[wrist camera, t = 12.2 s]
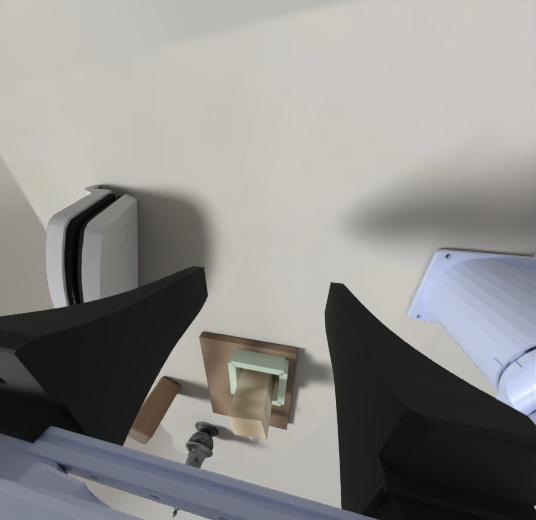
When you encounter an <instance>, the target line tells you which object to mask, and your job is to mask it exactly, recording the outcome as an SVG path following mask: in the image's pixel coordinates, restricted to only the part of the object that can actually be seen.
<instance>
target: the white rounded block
mask: <svg viewBox="0 0 536 520" xmlns="http://www.w3.org/2000/svg"><path fill="white" fill-rule="evenodd" d="M85 193H86V196H85V197H84V198H82V199H80V200H79V201H77V202H75V203H74V204H72V205H70V206H68V207H67V208H65V209H63V210H62V211H60V212H58V213H56V214H55V215H53V216H52V218H51V219H50V220H49V222H48V225H47V238H46V268H47V277H48V284H49V290H50V294H51V298H52V301H53V305H54V307H55V308H60V307H66V306H71V305H76V304H81V303H85V302H89V301H93V300H98V299H102V298H106V297H110V296H113V295H117V294H120V293H123V292H127V291H130V290H133V289H136V288H138V217H137V199H136V198H134V197H132V196H130V195H128V194H125V195H123V196H119V197H118V198H116V199H115V195H114V194H112V192H111V190H105V189H100V186H99V185H93V186H90V187H87V188H85Z"/></svg>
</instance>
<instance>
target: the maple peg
mask: <svg viewBox="0 0 536 520" xmlns="http://www.w3.org/2000/svg"><path fill="white" fill-rule="evenodd" d="M274 386H275V377H274V374H271V373H265V372H260V371H255V370H250V369H245V368H243V369H242V372H241V375H240V378H239V381H238V384H237V387H236V391H235V394H234V397H233V400H232V403H231V406H230V409H229V413H228V416H227V417H228V419H229V422H230V424H231V426H232V429H233V431H234V434H235V435H239V436H246V437H252V438H258V439H264V440H267V434H268V427H269V420H270V413H271V407H272V400H273V393H274Z"/></svg>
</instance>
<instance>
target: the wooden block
mask: <svg viewBox="0 0 536 520" xmlns="http://www.w3.org/2000/svg"><path fill="white" fill-rule="evenodd" d="M179 389H180V385H178V384H176V383H175V382H173V381H171V380H169V379H167V378H166V377H162V378H161V379H160V381H159V382H158V383H157V385H156V386H155V388H154V389H153V391H152V392H151V394H150V395H149V396H148V398H147V399H146V401H145V402H144V404H143V405H142V407H141V408H140V410H139V412H138V414H137V416H136V419H135V421H134V423H133V425H132V427H131V429H130V431H129V433H128V436H129V437H130V438H132V439H135V440H136V441H138V442H140V443H143V444H146V443H147V442H148V441H149V440H150V439H151V437H152V436H153V435H154V433H155V431H156V429H157V427H158V426H159V424H160V422H161V421H162V419H163V417H164V415H165V414H166V412H167V410H168V408H169V407H170V405H171V403H172V402H173V400H174V398H175V396H176V395H177V393H178V391H179Z"/></svg>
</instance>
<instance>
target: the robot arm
mask: <svg viewBox="0 0 536 520" xmlns="http://www.w3.org/2000/svg"><path fill="white" fill-rule="evenodd" d="M447 254H449V256H448V257H445V256H446V255H447ZM207 297H208V293H207V285H206V278H205V271H204V267H196V266H194V267H190V268H188V269H185V270H182V271H180V272H177V273H175V274H172V275H170V276H167V277H165V278H162V279H160V280H157V281H155V282H152V283H149V284H147V285H144V286H141V287H139V288H136V289H133V290H130V291H127V292H123V293H120V294H117V295H113V296H110V297H106V298H102V299H98V300H93V301H89V302H85V303H81V304H76V305H71V306H66V307H60V308H55V309H50V310H43V311H36V312H29V313H23V314H15V315H8V316H1V317H0V520H142V519H139V518H137V517H134V516H132V515H129V514H126V513H123V512H120V511H117V510H114V509H112V508H111V507H109V506H108V505H107V504H105V503H104V502H102V501H101V500H99V499H98V498H97V497H96V496H95V495H94V494H93V493H92V492H90V491H89V489H88V488H87V486H86V485H85V483H83V482H81V481H79V480H77V479H75V478H73V477H71V476H69V475H67V473H70V474H73V475H76V476H79V477H82V478H85V479H89V480H91V481H95V482H98V483H101V484H104V485H107V486H110V487H113V488H116V489H119V490H122V491H125V492H129V493H131V494H135V495H138V496H141V497H144V498H147V499H150V500H153V501H156V502H159V503H162V504H165V505H168V506H172V507H174V508H177V509H180V510H183V511H186V512H190V513H193V514H196V515H199V516H202V517H205V518H208V519H211V520H536V509H535V508H534V506H536V257H530V256H518V255H506V254H494V253H482V252H470V251H459V250H447V249H440V250H437V251H436V252H435V253H434V255H433V257H432V260H431V262H430V264H429V266H428V268H427V271H426V273H425V275H424V277H423V279H422V282H421V284H420V286H419V288H418V290H417V293H416V295H415V297H414V299H413V301H412V304H411V306H410V308H409V310H408V313H407V315H408V317H409V318H411V319H417V320H424V321H431V322H438V323H439V324H440V325H441V326H442V327H443V328H444V330H445V331H446V332H447V333H448V334H449V335H450V337H451V338H452V339H453V340H454V341H455V342H456V343H457V345H458V346H459V347H460V348H461V349H462V351H463V352H464V353H465V354H466V355H467V356H468V358H469V359H470V360H471V361H472V362H473V363H474V365H475V366H476V367H477V368H478V369H479V370H480V372H481V373H482V374H483V375H484V376H485V377H486V379H487V380H488V381H489V382H490V383H491V385H492V386H493V387H494V388H495V389H496V390H497V392H498V394H497V396H496V397H495V398H494V397H492V396H491V395H489V394H487V393H485V392H483V391H482V390H479V389H478V388H476V387H474V386H473V385H471V384H469V383H468V382H466V381H464V380H463V379H461V378H459V377H457V376H456V375H454V374H453V373H451V372H449V371H448V370H446V369H445V368H443V367H441V366H440V365H438V364H437V363H435V362H433V361H432V360H431V359H429V358H428V357H426V356H425V355H423V354H422V353H420V352H419V351H418V350H416V349H415V348H413V347H412V346H410V345H409V344H408V343H406V342H405V341H404V340H402V339H401V338H400V337H399V336H397V335H396V334H395V333H393V332H392V331H391V330H390V329H388V328H387V327H386V326H385V325H384V324H383V323H382V322H380V321H379V320H378V319H377V318H376V317H375V316H374V315H373V314H372V313H371V312H370V311H369V310H368V309H367V308H366V307H365V306H364V305H363V304H362V303H361V302H360V301H359V300H358V299H357V298H356V297H355V296H354V295H353V294H352V293H351V292H350V291H349V289H348V288H347V287H346V286H345V285H344V284H341V283H333V282H331V284H330V289H329V294H328V299H327V304H326V309H325V328H326V335H327V341H328V346H329V352H330V357H331V363H332V368H333V375H334V383H335V395H336V408H337V423H338V439H339V458H340V481H341V507H342V509H339V508H336V507H332V506H329V505H325V504H322V503H319V502H315V501H311V500H308V499H305V498H301V497H298V496H294V495H290V494H287V493H283V492H279V491H277V490H273V489H269V488H266V487H262V486H259V485H256V484H252V483H248V482H245V481H242V480H238V479H235V478H231V477H228V476H224V475H221V474H217V473H214V472H210V471H206V470H203V469H200V468H196V467H193V466H189V465H186V464H182V463H179V462H175V461H172V460H168V459H165V458H161V457H158V456H154V455H151V454H147V453H144V452H140V451H137V450H133V449H130V448H127V447H123V444H124V442H125V440H126V437H127V436H128V433H129V431H130V429H131V427H132V425H133V423H134V421H135V419H136V416H137V414H138V412H139V410H140V408H141V406H142V404H143V402H144V400H145V398H146V396H147V394H148V392H149V390H150V389H151V387H152V385H153V383H154V381H155V379H156V377H157V376H158V374H159V372H160V370H161V368H162V367H163V365H164V363H165V361H166V360H167V358H168V356H169V355H170V353H171V351H172V350H173V348H174V347H175V345H176V344H177V342H178V341H179V339H180V338H181V337H182V335H183V334H184V333H185V331H186V330H187V328H188V327H189V326H190V324H191V323H192V322H193V320H194V319H195V317H196V316H197V315H198V313H199V312H200V310H201V308H202V307H203V305H204V303H205V301H206V299H207ZM419 314H420V315H419ZM417 315H418V316H417Z"/></svg>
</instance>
